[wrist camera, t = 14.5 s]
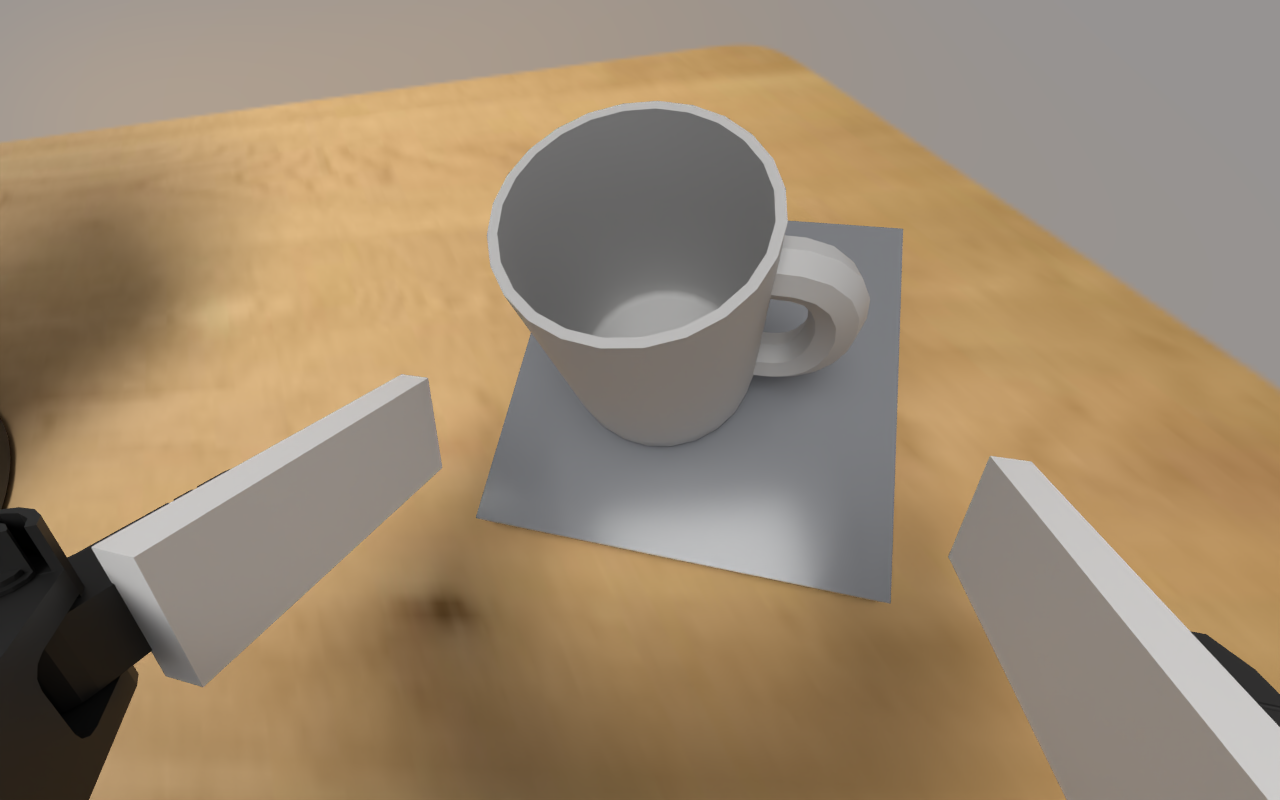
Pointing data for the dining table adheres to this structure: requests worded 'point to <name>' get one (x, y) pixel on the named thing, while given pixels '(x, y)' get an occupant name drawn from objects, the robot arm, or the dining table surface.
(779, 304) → the slate tile
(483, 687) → the dining table surface
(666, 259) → the cup
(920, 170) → the dining table surface
